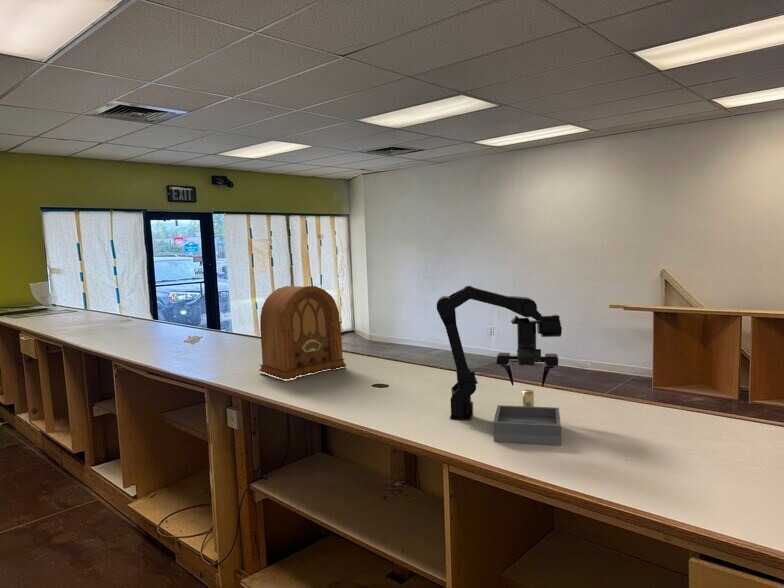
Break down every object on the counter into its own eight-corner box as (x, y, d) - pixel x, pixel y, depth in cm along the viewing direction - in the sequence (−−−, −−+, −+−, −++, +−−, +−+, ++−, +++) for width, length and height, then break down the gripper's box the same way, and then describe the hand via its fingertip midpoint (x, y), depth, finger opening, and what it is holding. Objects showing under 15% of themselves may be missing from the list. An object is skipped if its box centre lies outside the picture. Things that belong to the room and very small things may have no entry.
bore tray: (493, 441, 145) (493, 422, 145) (498, 422, 160) (497, 405, 160) (561, 445, 140) (560, 425, 140) (559, 425, 155) (558, 407, 155)
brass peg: (522, 417, 164) (522, 392, 164) (523, 413, 168) (522, 389, 167) (534, 417, 163) (533, 392, 163) (534, 414, 167) (533, 389, 166)
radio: (285, 382, 222) (279, 289, 219) (259, 374, 239) (253, 288, 236) (346, 367, 244) (341, 283, 241) (318, 361, 261) (313, 282, 258)
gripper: (494, 341, 158) (495, 391, 160) (558, 342, 153) (559, 394, 154) (497, 335, 169) (498, 382, 170) (557, 335, 164) (557, 384, 165)
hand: (527, 385), depth 165 cm, fingers open, 9 cm apart
